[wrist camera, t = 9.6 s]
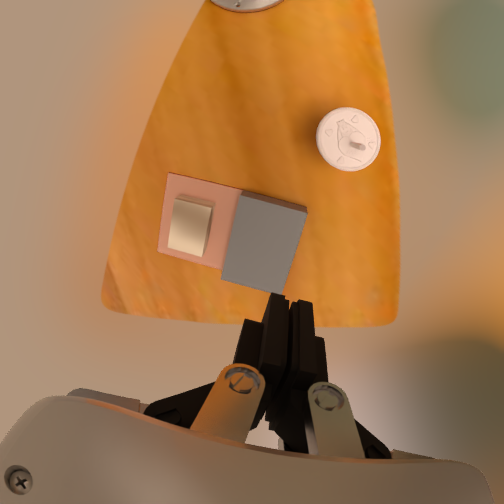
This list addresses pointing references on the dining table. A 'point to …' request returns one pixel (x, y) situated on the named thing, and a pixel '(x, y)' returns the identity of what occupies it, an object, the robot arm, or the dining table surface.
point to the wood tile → (191, 225)
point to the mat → (221, 221)
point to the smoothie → (348, 139)
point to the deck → (263, 242)
